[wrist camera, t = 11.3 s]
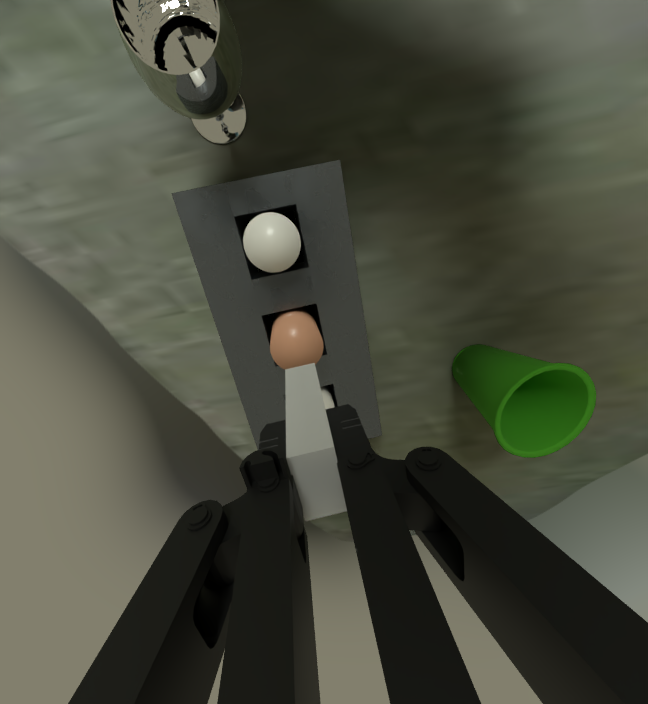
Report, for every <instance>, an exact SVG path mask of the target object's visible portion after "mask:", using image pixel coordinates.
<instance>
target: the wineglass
mask: <svg viewBox="0 0 648 704" xmlns="http://www.w3.org/2000/svg"><path fill="white" fill-rule="evenodd" d="M111 7H112V11H113V15H114V18H115V22H116V25H117V28H118V30H119V33H120V36H121V38H122V41H123V43H124V46H125V48H126V50H127V52H128V55H129V57H130V59H131V61H132V63H133V64H134V66H135V68H136V70H137V72H138V73H139V75H140V76H141V78H142V79H143V81H144V82H145V83H146V85H147V86H148V88H149V89H150V90H151V91H152V92H153V94H154V95H155V96H156V97H157V98H158V99H159V100H160V101H161V102H163V103H164V104H165V105H166V106H168V107H169V108H171V109H172V110H174V111H175V112H177V113H179V114H181V115H183V116H185V117H188V118H191V120H192V122H193V124H194V126H195V128H196V129H197V131H198V132H199V133H200V134H201V135H202V136H203V137H204V138H206V139H207V140H209V141H210V142H213V143H216V144H228V143H231V142H233V141H235V140H236V139H237V138H238V137H239V136H240V135H241V133H242V132H243V130H244V127H245V124H246V108H245V104H244V101H243V99H242V97H241V95H240V93H239V92H238V91H239V88H240V84H241V79H242V54H241V47H240V42H239V39H238V35H237V32H236V29H235V27H234V24H233V21H232V19H231V16H230V14H229V11H228V9H227V7H226V6H225V4H224V2H223V0H111Z"/></svg>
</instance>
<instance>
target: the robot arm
mask: <svg viewBox="0 0 648 704" xmlns="http://www.w3.org/2000/svg"><path fill="white" fill-rule="evenodd" d="M285 394H286V420H282V421H278V422H273V423H269V424H266V425H265V427H264V428H263V430H262V431H261V433H260V440H259V442H260V443H259V450H257V451H255V452H253V453H251V454H250V455H248V456H247V457H246V458H245V459H244V460H243V461H242V464H241V466H240V471H241V474H242V476H243V479H244V481H245V484H246V487H247V492H246V493H245V494H244V495H242V496H241V497H239V498H238V499H236V500H234V501H232V502H230V503H228V504H226V505H225V506H223V507H222V505H221V504H220V503H219V502H217V501H213V500H207V501H203V502H200V503H198V504H196V505H194V506H192V507H191V508H190V509H189V510H187V511H186V512H185V513H184V514H183V516H182V517H181V518H180V519H179V521H178V522H177V524H176V526H175V527H174V529H173V531H172V533H171V534H170V536H169V537H168V539H167V541H166V542H165V544H164V546H163V547H162V549H161V551H160V552H159V554H158V556H157V557H156V559H155V561H154V562H153V564H152V565H151V568H150V569H149V570H148V572H147V574H146V575H145V577H144V579H143V580H142V582H141V584H140V585H139V587H138V589H137V590H136V592H135V594H134V595H133V597H132V599H131V600H130V602H129V604H128V605H127V607H126V609H125V610H124V612H123V614H122V615H121V617H120V619H119V620H118V622H117V624H116V625H115V627H114V629H113V630H112V632H111V633H110V635H109V637H108V639H107V640H106V642H105V643H104V645H103V647H102V649H101V650H100V652H99V653H98V655H97V657H96V658H95V660H94V662H93V663H92V665H91V667H90V669H89V670H88V672H87V673H86V675H85V677H84V679H83V680H82V682H81V683H80V685H79V687H78V688H77V690H76V692H75V693H74V695H73V697H72V698H71V700H70V702H69V703H68V704H207V703H208V700H209V697H210V693H211V690H212V687H213V684H214V681H215V678H216V674H217V671H218V668H219V665H220V662H221V658H222V656H223V653H224V660H223V667H222V674H221V681H220V688H219V696H218V702H217V704H320V693H319V680H318V669H317V655H316V643H315V630H314V617H313V606H312V593H311V580H310V567H309V555H308V542H307V535H306V532H305V528H304V523H303V515H304V519H305V521H309V520H313V519H317V518H321V517H325V516H329V515H333V514H337V513H341V512H345V511H347V512H348V517H349V521H350V526H351V530H352V534H353V539H354V543H355V548H356V552H357V557H358V561H359V566H360V570H361V575H362V579H363V583H364V588H365V592H366V597H367V601H368V606H369V610H370V615H371V619H372V624H373V628H374V633H375V637H376V642H377V646H378V650H379V655H380V659H381V664H382V668H383V673H384V677H385V682H386V686H387V691H388V695H389V700H390V704H481V702H480V700H479V698H478V695H477V693H476V690H475V688H474V686H473V683H472V681H471V678H470V676H469V673H468V671H467V669H466V666H465V664H464V661H463V659H462V657H461V654H460V652H459V650H458V647H457V645H456V642H455V640H454V638H453V635H452V633H451V630H450V628H449V626H448V623H447V621H446V618H445V616H444V613H443V611H442V609H441V606H440V604H439V602H438V599H437V597H436V594H435V592H434V589H433V587H432V585H431V582H430V580H429V577H428V575H427V573H426V570H425V568H424V566H423V563H422V561H421V558H420V556H419V553H418V551H417V549H416V546H415V544H414V541H413V539H412V537H411V534H410V532H409V530H415V532H416V534H417V535H418V537H419V538H420V539H421V541H422V542H423V543H424V545H425V546H426V548H427V549H428V550H429V551H430V553H431V554H432V555H433V557H434V558H435V559H436V561H437V562H438V564H439V565H440V566H441V568H442V569H443V570H444V572H445V573H446V574H447V576H448V577H449V578H450V580H451V581H452V582H453V584H454V585H455V586H456V588H457V589H458V590H459V592H460V593H461V594H462V596H463V597H464V598H465V600H466V601H467V602H468V604H469V605H470V606H471V608H472V609H473V610H474V612H475V613H476V614H477V616H478V617H479V619H480V620H481V621H482V623H483V624H484V625H485V627H486V628H487V629H488V631H489V632H490V633H491V635H492V636H493V637H494V639H495V640H496V641H497V642H498V644H499V645H500V647H501V648H502V649H503V651H504V652H505V653H506V655H507V656H508V657H509V659H510V660H511V661H512V663H513V664H514V665H515V667H516V668H517V669H518V671H519V672H520V673H521V675H522V676H523V677H524V679H525V680H526V682H527V683H528V684H529V686H530V687H531V688H532V690H533V691H534V692H535V693H536V695H537V696H538V698H539V699H540V700H541V702H542V703H543V704H648V623H647V622H646V621H645V620H644V619H643V618H641V617H640V616H639V615H638V614H637V613H636V612H634V611H633V610H632V609H631V608H629V607H628V606H627V605H626V604H625V603H624V602H622V601H621V600H620V599H619V598H618V597H617V596H615V595H614V594H613V593H612V592H611V591H609V590H608V589H607V588H606V587H605V586H603V585H602V584H601V583H600V582H599V581H598V580H596V579H595V578H594V577H593V576H592V575H590V574H589V573H588V572H587V571H586V570H584V569H583V568H582V567H581V566H580V565H579V564H577V563H576V562H575V561H574V560H572V559H571V558H570V557H569V556H568V555H567V554H565V553H564V552H563V551H562V550H561V549H560V548H558V547H557V546H556V545H555V544H554V543H552V542H551V541H550V540H549V539H548V538H546V537H545V536H544V535H543V534H542V533H541V532H539V531H538V530H537V529H536V528H535V527H533V526H532V525H531V524H530V523H529V522H527V521H526V520H525V519H524V518H523V517H521V516H520V515H519V514H518V513H517V512H516V511H514V510H513V509H512V508H511V507H510V506H508V505H507V504H506V503H505V502H504V501H502V500H501V499H500V498H499V497H498V496H497V495H495V494H494V493H493V492H492V491H491V490H489V489H488V488H487V487H486V486H485V485H483V484H482V483H481V482H480V481H479V480H478V479H476V478H475V477H474V476H473V475H472V474H470V473H469V472H468V471H467V470H466V469H464V468H463V467H462V466H461V465H460V464H459V463H457V462H456V461H455V460H454V459H453V458H451V457H450V456H449V455H448V454H447V453H445V452H443V451H442V450H440V449H437V448H433V447H420V448H416V449H414V450H412V451H411V452H409V453H408V455H407V457H406V458H405V460H391V459H386V458H382V457H381V456H379V455H377V454H376V453H375V452H374V451H373V450H372V448H371V446H370V443H369V441H368V438H367V436H366V433H365V431H364V428H363V426H362V424H361V421H360V418H359V416H358V414H357V411H356V409H355V408H353V407H352V406H350V405H349V404H346V405H342V406H338V407H334V408H329V409H325V405H324V401H323V397H322V393H321V388H320V384H319V380H318V376H317V371H316V367H315V363H311V364H307V365H303V366H298V367H294V368H290V369H285ZM224 649H225V652H224Z"/></svg>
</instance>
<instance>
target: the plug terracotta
mask: <svg viewBox="0 0 648 704" xmlns="http://www.w3.org/2000/svg"><path fill="white" fill-rule="evenodd" d="M270 352H271V355H272V358H273V360H274V361H275V362H276V364H277V365H279V366H280V367H281V368H283V369H290V368H294V367H298V366H303V365H307V364H311V363H315V364H316V363H317V362H318V361H319V360H320V358H321V356H322V353H323V340H322V337H321V334H320V332H319V329H318V327H317V324H316V322H315V319H314V317H313V314H312V313H311V311H310V310H309V309H308V308H307V307H305V306H302V307H298V308H293V309H289V310H284V311H280V312H276V313H275V315H274V318H273V324H272V333H271V341H270Z"/></svg>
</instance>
